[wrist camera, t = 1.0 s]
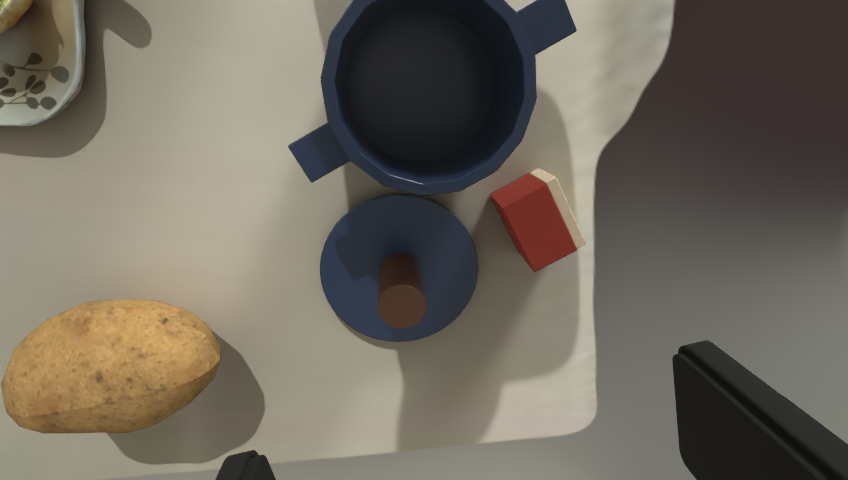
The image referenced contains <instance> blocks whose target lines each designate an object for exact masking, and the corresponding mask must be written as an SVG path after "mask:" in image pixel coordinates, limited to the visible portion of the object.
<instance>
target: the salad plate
mask: <svg viewBox="0 0 848 480" xmlns="http://www.w3.org/2000/svg"><path fill="white" fill-rule="evenodd" d="M85 55H86V32H85V23H84V0H0V126H33V125H35V124H39V123H42V122H44V121H46V120H48V119H50V118H52V117H55V116H57V115H59V114H60V113H61V111H62V110H63V109H65V108H66V107H67V106H68V105H69V104H70V102H71V101H72V100H73V99H74V98H75V97H76V96H77V95H78V94H79V93H80V91H81V89H82V83H83V77H84V67H85V59H86V58H85Z"/></svg>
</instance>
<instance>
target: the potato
mask: <svg viewBox="0 0 848 480" xmlns="http://www.w3.org/2000/svg"><path fill="white" fill-rule="evenodd" d="M219 361H220V345H219V343H218V341H217V340H216V338H215V336H214V334H213V333H212V331H211V329H210V327H209V325H208V324H206V323H205V322H204V321H202V320H201V319H200V318H198V317H197V316H195V315H194V314H193V313H191V312H190V311H188V310H185V309H182V308H179V307H176V306H172V305H169V304H165V303H162V302H159V301H148V300H108V301H98V302H88V303H84V304H82V305H79V306H77V307H74V308H72V309H69V310H67V311H65V312H63V313H61V314H59V315H57V316H55V317H52V318H50V319H48V320H46V321H45V322H44V323H42V324H41V325H40V326H39V327H37V328H36V329H35V330H33V331H32V332H31V333H30V334H28V335H27V336H26V337H25V338H24V340H23V341H22V342H21V343H20V344H19V345H18V346H17V347H16V348H15V350H14V352H13V355H12V357H11V360H10V362H9V365H8V367H7V370H6V372H5V375H4V377H3V380H2V383H1V386H2V393H3V399H4V406H5V409H6V412H7V414H8V415H9V416H10V417H11V418H12V419H13V420H14V421H15V422H16V423H17V424H18V425H19V426H20V427H23V428H26V429H30V430H33V431H37V432H40V433H95V432H107V433H128V432H131V431H135V430H138V429H142V428H146V427H148V426H151V425H154V424H157V423H158V422H160V421H162V420H163V419H165V418H166V417H168V416H170V415H171V414H173V413H174V412H176V411H178V410H179V409H181V408H182V407H184V406H185V405H187V404H189V403H190V402H191V401H192V400H193V399H194V398H195V397H196V396H197V395H198V394H199V393H200V392H201V391H202V390H203V389H204V388H205V387H206V386H207V385H208V384H209V383H210V382H211V381H212V379H213V378H214V375H215V372H216V369H217V366H218V364H219Z"/></svg>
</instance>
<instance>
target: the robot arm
mask: <svg viewBox="0 0 848 480" xmlns="http://www.w3.org/2000/svg"><path fill="white" fill-rule="evenodd" d="M673 373H674V385H675V398H676V411H677V424H678V435H679V449H680V454H681V457H682V459H683V461H684V463H685V465H686V467H687V468H688V469H689V471H690V472H691V473H692V474H693V476H694V477H695V478H696V479H697V480H848V444H846V443H845V442H844V441H843V440H841V439H840V438H839V437H837V436H836V435H835V434H833V433H832V432H831V431H829V430H828V429H827V428H825V427H824V426H823V425H821V424H820V423H819V422H817V421H816V420H815V419H813V418H812V417H811V416H809V415H808V414H807V413H805V412H804V411H803V410H802V409H800V408H799V407H798V406H796V405H795V404H794V403H792V402H791V401H790V400H788V399H787V398H785V397H784V396H782V395H781V394H779V393H778V392H776V391H775V390H774V389H772V388H771V387H770V386H769V385H767V384H766V383H765V382H763V381H762V380H761V379H759V378H758V377H757V376H755V375H754V374H752V373H751V372H750V371H749V370H747V369H746V368H745V367H743V366H742V365H741V364H739V363H738V362H737V361H736V360H734V359H733V358H732V357H730V356H729V355H728V354H726V353H725V352H724V351H722V350H721V349H720V348H718V347H717V346H716V345H714V344H713V343H711V342H710V341H701V342H697V343H693V344H688V345H685V346H681V347H680V348H679V350H678V354H676V355H674V356H673ZM216 480H276V479H275V477H274V474H273V472H272V470H271V467H270V465H269V462H268V460H267V458H266V456H264V455H260V456H259V455H258V453H257V452H256V451H255V450H251V451H247V452H243V453H239V454H235V455H231V456H228V457H227V458H226V459H225V461H224V462H223V465H222V467H221V469H220V471H219V473H218V475H217V478H216Z"/></svg>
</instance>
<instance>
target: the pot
mask: <svg viewBox="0 0 848 480" xmlns="http://www.w3.org/2000/svg"><path fill="white" fill-rule="evenodd" d="M576 31H577V30H576V27H575V25H574V22H573V20H572V17H571V15H570V12H569V10H568V7H567V4H566V2H565V0H536V1H535V2H533V3H531V4H530V5H528V6H526V7H524V8H523V9H521V10H519V11H518V12H516V11H515V10H514V9H513V8H512V7H511V6H510V5H509V4H508V3H506V2H505V1H504V0H353V1H352V3H351V4H350V6H349V7H348V9H347V10H346V11H345V13H344V14H343V16H342V17H341V19H340V20H339V22H338V23H337V25H336V26H335V27H334V29H333V30H332V32H331V35H330V36H329V41H328V46H327V51H326V55H325V60H324V65H323V69H322V74H321V86H322V91H323V97H324V103H325V109H326V115H327V121H328V123H326V124H324V125H322V126H321V127H319V128H317V129H316V130H314V131H312V132H310V133H309V134H307V135H305V136H304V137H302V138H300V139H298V140H297V141H295V142H293V143H292V144H290V145H289V146H288V147H289V149H290V151H291V152H292V154H293V155H294V157H295V158H296V160H297V161H298V163H299V164H300V166H301V168H302V169H303V171H304V172H305V174H306V175H307V177H308V178H309V180H310V182H314V181H316V180H317V179H319V178H321V177H323V176H324V175H326V174H328V173H330V172H331V171H333V170H335V169H337V168H338V167H340V166H342V165H344V164H345V163H347V162H349V161H351V162H353V163H354V164H355V165H357V166H358V167H359V168H361V169H362V170H363V171H365V172H366V173H367V174H369V175H370V176H371V177H373V178H374V179H375V180H377V181H378V182H379V183H380V184H382V185H384V186H387V187H390V188H394V189H398V190H402V191H405V192H409V193H413V194H416V195H420V196H421V195H422V196H425V195H433V194H442V193H450V192H458V191H461V190H464V189H465V188H467V187H469V186H471V185H473V184H475V183H476V182H478V181H480V180H482V179H484V178H485V177H487V176H489V175H491V174H493V173H494V172H495V171H497V170H498V169H499V168H500V166H501V165H502V164H503V163H504V162H505V160H506V159H507V158H508V157H509V156H510V154H511V153H512V152H513V151H514V150H515V148H516V147H517V146H518V145H519V144H520V142H521V141H522V139H523V137H524V134H525V131H526V128H527V126H528V123H529V120H530V117H531V114H532V111H533V108H534V105H535V102H536V98H537V95H536V61H535V55H536V54H538V53H539V52H541V51H543V50H545V49H546V48H548V47H550V46H552V45H553V44H555V43H557V42H559V41H560V40H562V39H564V38H566V37H567V36H569V35H571V34H573V33H574V32H576Z"/></svg>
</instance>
